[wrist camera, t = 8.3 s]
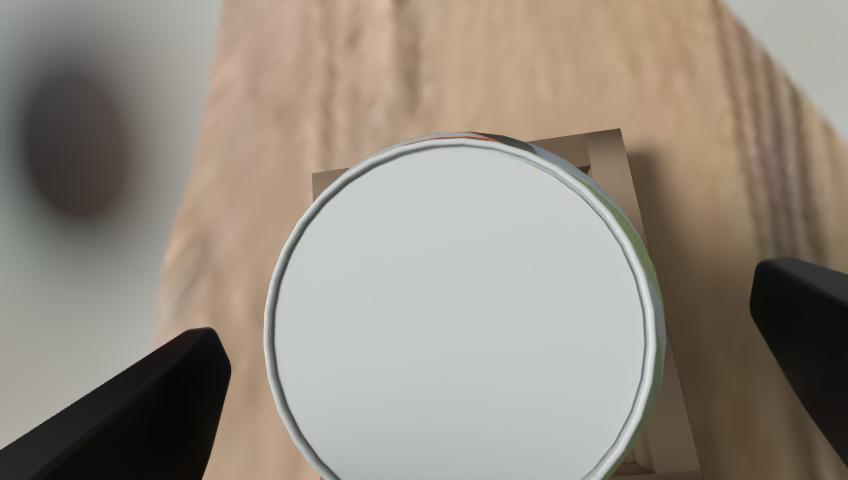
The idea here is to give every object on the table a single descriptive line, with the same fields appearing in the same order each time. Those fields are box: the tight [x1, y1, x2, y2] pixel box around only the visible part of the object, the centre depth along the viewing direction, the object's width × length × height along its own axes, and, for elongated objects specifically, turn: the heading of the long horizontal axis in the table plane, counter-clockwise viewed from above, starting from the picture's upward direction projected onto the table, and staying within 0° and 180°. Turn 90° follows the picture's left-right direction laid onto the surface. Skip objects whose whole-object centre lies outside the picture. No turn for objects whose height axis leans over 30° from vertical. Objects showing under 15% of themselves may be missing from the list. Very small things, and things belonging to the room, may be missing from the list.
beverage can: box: [264, 132, 666, 480], centre depth 12 cm, size 6×7×12 cm
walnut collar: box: [312, 128, 703, 480], centre depth 16 cm, size 12×11×2 cm
